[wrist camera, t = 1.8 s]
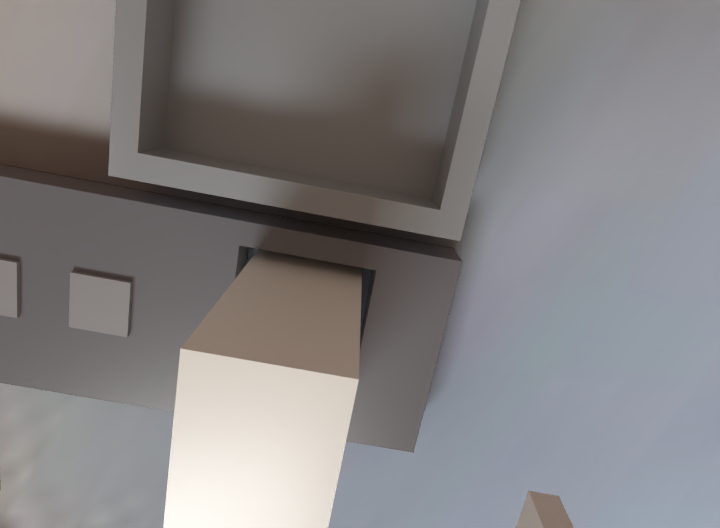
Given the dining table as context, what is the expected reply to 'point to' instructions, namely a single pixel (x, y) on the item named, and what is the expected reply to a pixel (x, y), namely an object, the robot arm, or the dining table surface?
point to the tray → (312, 103)
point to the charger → (267, 398)
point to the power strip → (193, 294)
